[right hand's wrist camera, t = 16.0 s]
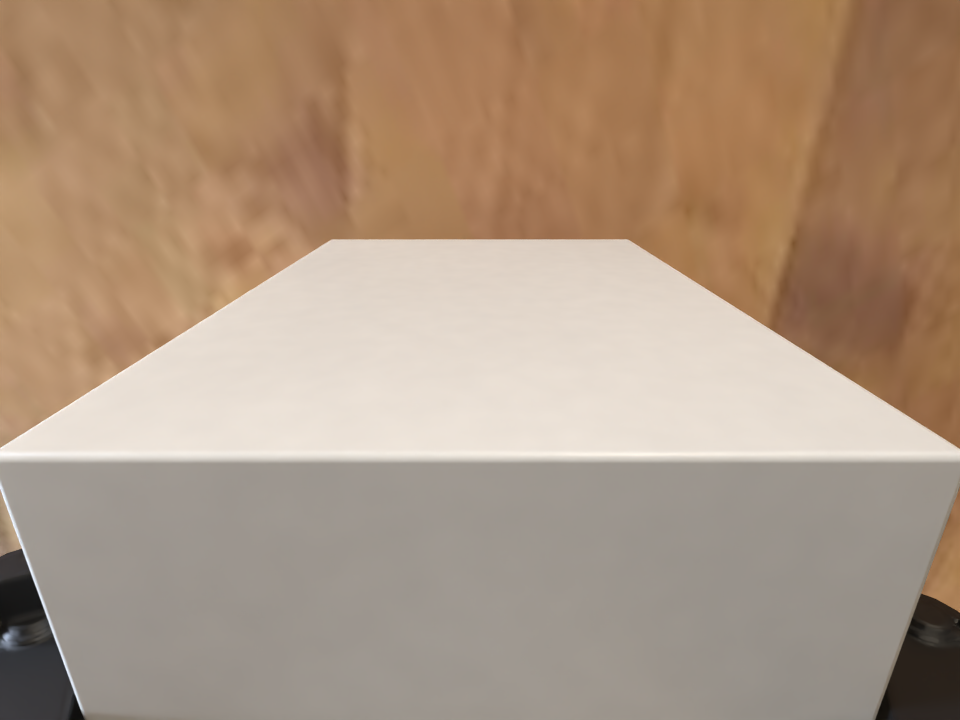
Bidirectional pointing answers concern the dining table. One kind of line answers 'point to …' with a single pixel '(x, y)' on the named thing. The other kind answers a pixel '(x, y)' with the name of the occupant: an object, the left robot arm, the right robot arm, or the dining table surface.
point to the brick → (479, 503)
